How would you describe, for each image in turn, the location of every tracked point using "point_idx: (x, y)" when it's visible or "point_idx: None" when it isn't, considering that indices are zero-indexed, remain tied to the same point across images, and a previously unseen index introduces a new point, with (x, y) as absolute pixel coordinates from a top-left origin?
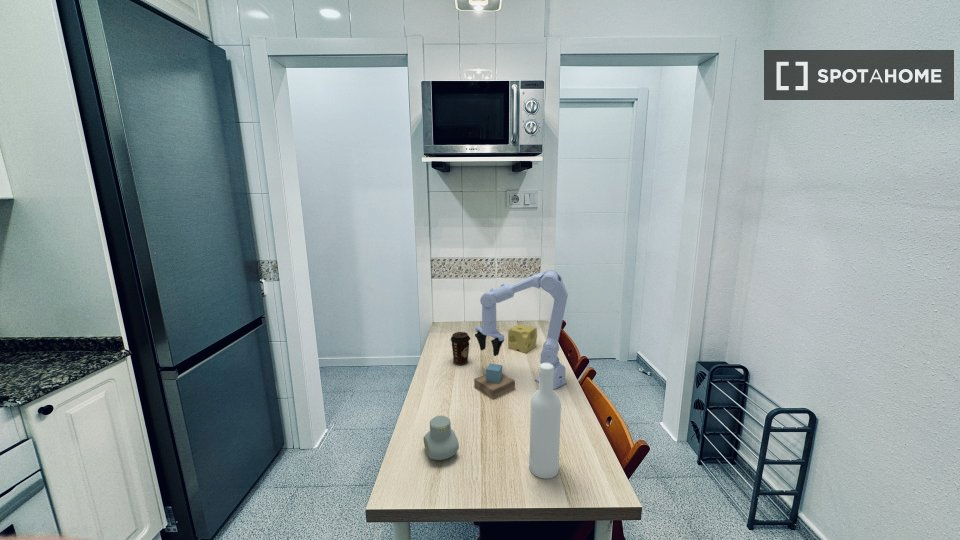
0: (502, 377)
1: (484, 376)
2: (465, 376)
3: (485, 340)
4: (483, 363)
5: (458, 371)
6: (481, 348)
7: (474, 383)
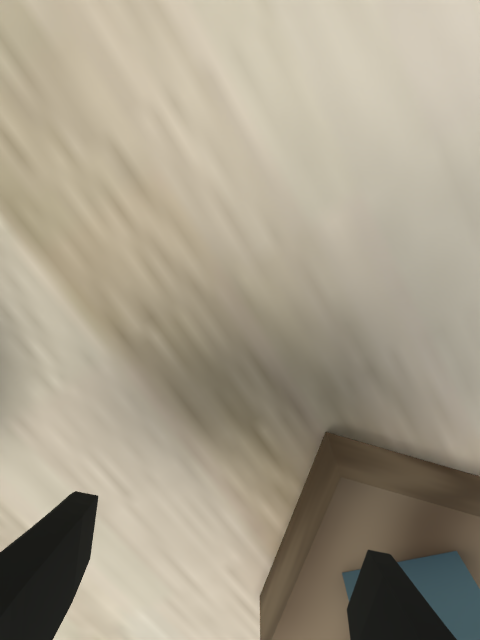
0: (459, 552)
1: (311, 606)
2: (114, 520)
3: (3, 621)
4: (81, 268)
5: (19, 489)
6: (74, 591)
7: (262, 625)
